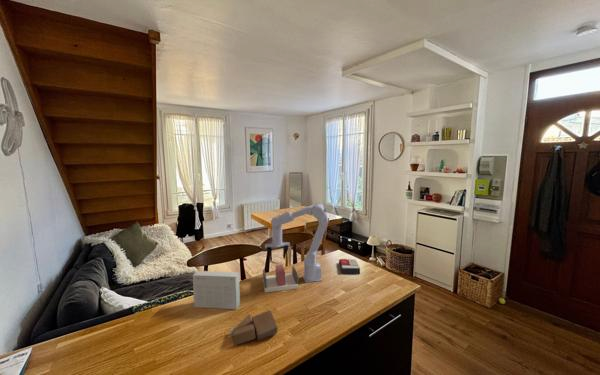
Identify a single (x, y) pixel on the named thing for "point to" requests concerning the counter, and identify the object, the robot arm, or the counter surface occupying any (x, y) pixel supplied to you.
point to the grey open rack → (290, 283)
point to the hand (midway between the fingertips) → (277, 258)
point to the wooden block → (254, 328)
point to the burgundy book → (280, 275)
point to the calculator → (349, 266)
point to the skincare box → (216, 289)
